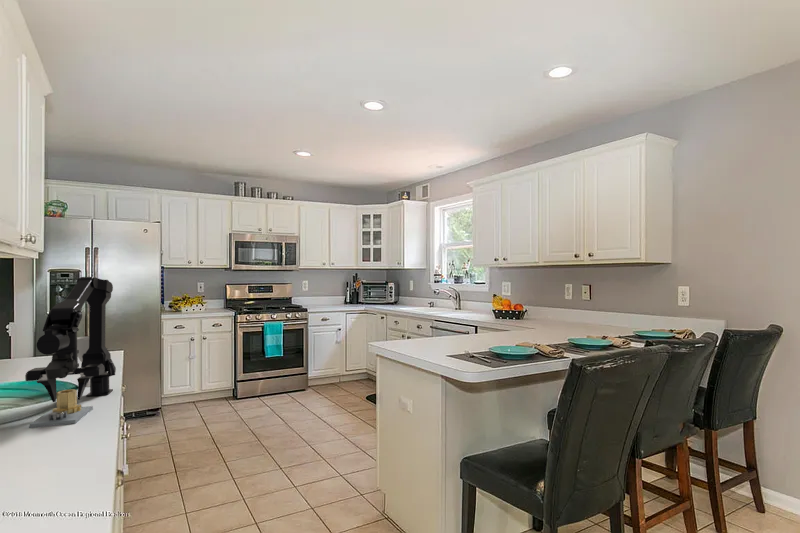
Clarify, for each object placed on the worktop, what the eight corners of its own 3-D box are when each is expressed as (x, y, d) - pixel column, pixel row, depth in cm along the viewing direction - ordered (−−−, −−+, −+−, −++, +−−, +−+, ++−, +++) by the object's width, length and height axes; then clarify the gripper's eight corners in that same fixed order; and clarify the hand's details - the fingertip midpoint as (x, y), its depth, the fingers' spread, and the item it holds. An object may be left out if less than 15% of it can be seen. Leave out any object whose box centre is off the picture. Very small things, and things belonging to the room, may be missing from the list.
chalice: (101, 383, 180) (100, 336, 180) (88, 388, 173) (87, 339, 173) (83, 383, 180) (82, 336, 180) (69, 388, 174) (68, 339, 174)
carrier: (51, 412, 144) (51, 394, 144) (92, 409, 147) (92, 391, 147) (29, 427, 130) (29, 407, 130) (75, 423, 133) (75, 403, 133)
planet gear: (58, 409, 144) (57, 389, 144) (84, 407, 146) (84, 387, 146) (48, 416, 137) (47, 395, 137) (76, 413, 139) (75, 393, 139)
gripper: (15, 355, 131) (16, 412, 131) (91, 351, 136) (93, 405, 136) (33, 349, 142) (35, 401, 142) (104, 345, 147) (105, 395, 147)
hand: (66, 400), depth 141 cm, fingers open, 6 cm apart
